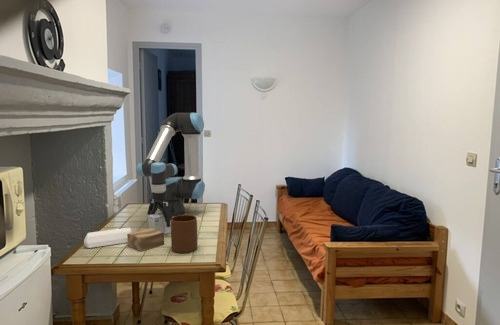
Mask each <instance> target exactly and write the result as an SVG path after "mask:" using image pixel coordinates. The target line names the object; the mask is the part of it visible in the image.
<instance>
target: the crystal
mask: <svg viewBox="0 0 500 325" xmlns="http://www.w3.org/2000/svg"><path fill="white" fill-rule="evenodd" d="M132 232H133V230H132V229H131V227H123V228H117V229H116V228H115V229H109V230H108V229H107V230H98V231H93V232H92V231H91V232H87V234H86V235H85V237H84V240H83V243H84V246H85V247H86V249H90V248H98V247H104V246H113V245H118V244H119V245H120V244H125V243H127V244H128V238H127V234H128V233H132Z"/></svg>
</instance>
